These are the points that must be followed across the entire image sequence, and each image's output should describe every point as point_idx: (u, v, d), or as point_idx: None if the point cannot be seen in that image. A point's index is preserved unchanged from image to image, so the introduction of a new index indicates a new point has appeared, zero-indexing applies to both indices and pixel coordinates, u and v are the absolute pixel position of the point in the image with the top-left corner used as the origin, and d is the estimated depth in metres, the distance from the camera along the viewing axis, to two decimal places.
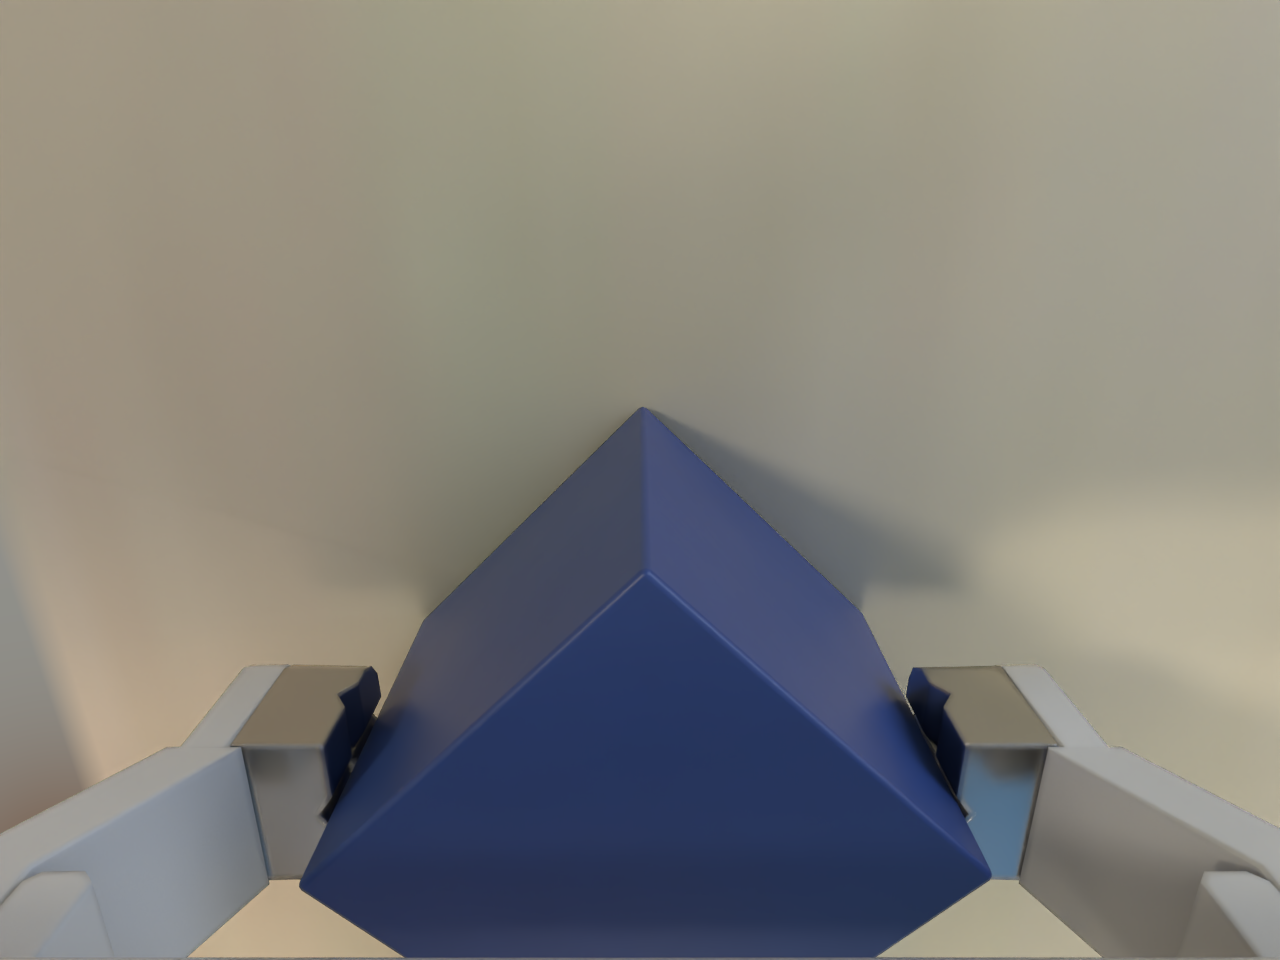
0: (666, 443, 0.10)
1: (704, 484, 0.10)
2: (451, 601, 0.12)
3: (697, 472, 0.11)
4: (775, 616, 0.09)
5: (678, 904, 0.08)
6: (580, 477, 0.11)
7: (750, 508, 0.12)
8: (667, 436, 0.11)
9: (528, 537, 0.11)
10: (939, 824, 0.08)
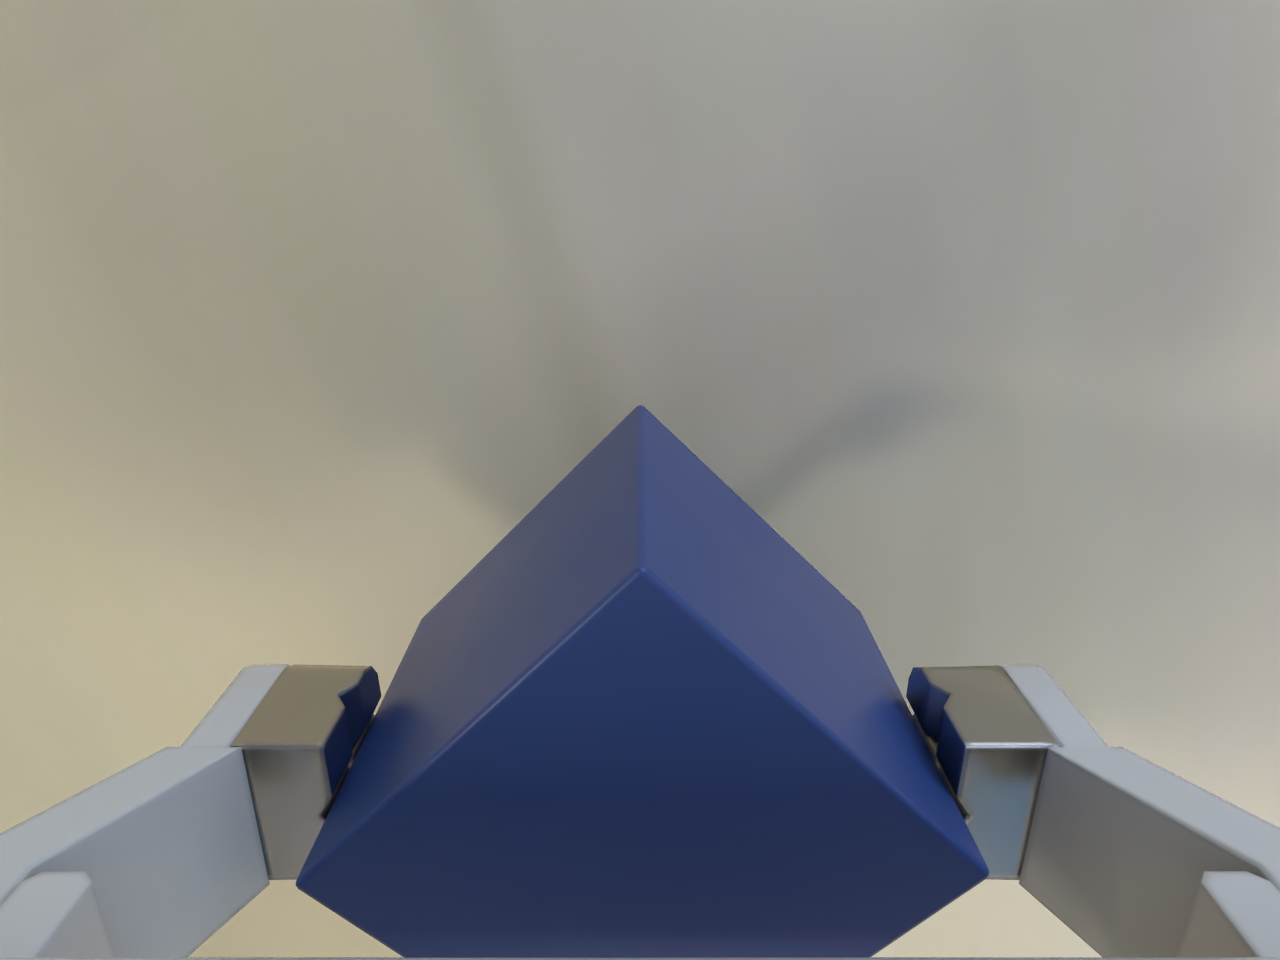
0: (664, 441, 0.10)
1: (702, 482, 0.10)
2: (449, 600, 0.12)
3: (695, 470, 0.11)
4: (772, 614, 0.09)
5: (675, 902, 0.08)
6: (578, 475, 0.11)
7: (748, 506, 0.12)
8: (665, 434, 0.11)
9: (526, 535, 0.11)
10: (936, 822, 0.08)
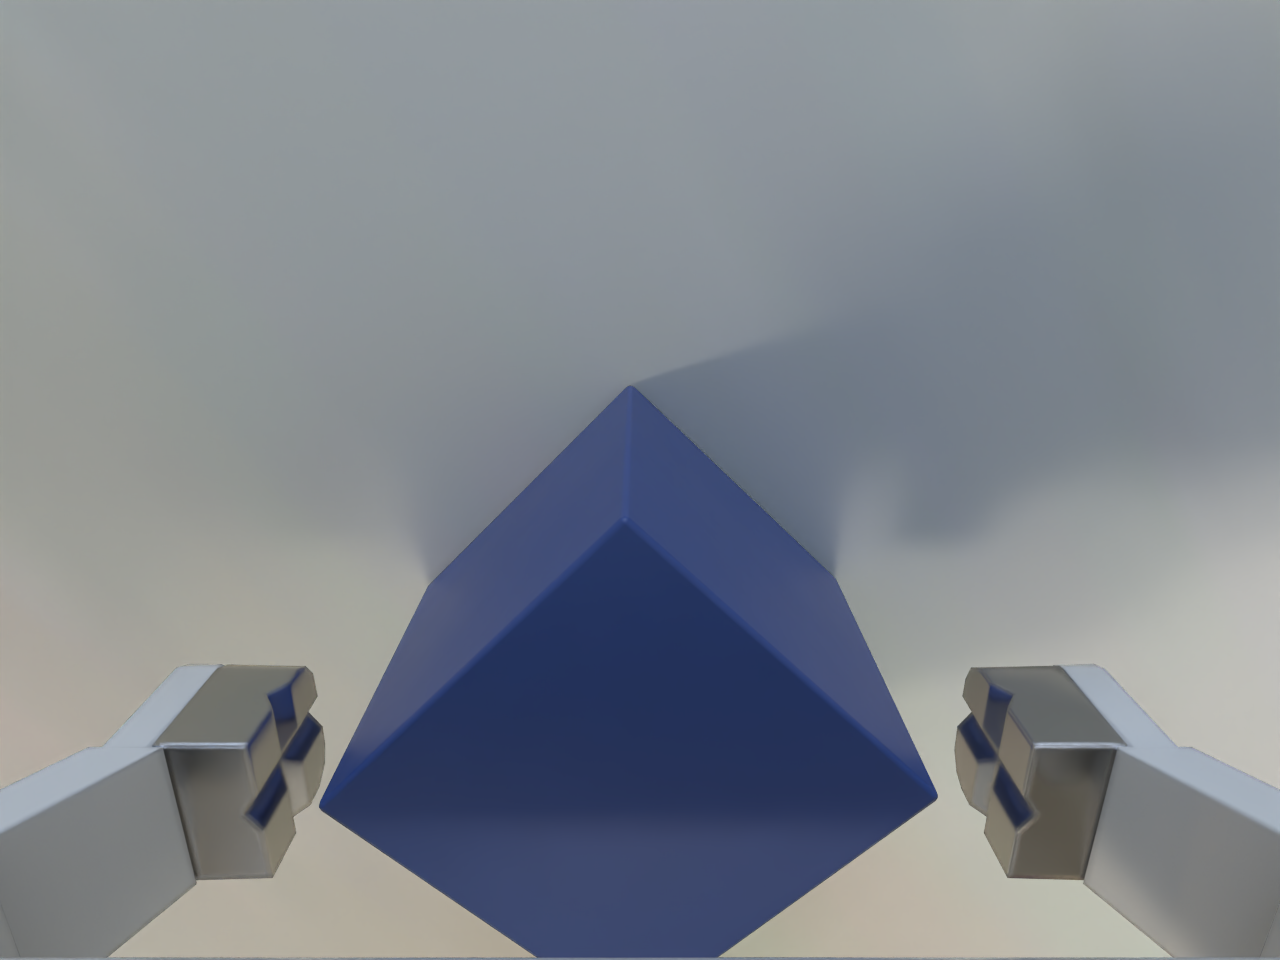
0: (651, 417, 0.11)
1: (686, 455, 0.11)
2: (454, 566, 0.13)
3: (680, 444, 0.12)
4: (746, 568, 0.09)
5: (657, 822, 0.09)
6: (572, 450, 0.12)
7: (730, 480, 0.13)
8: (652, 412, 0.12)
9: (524, 505, 0.12)
10: (889, 749, 0.09)
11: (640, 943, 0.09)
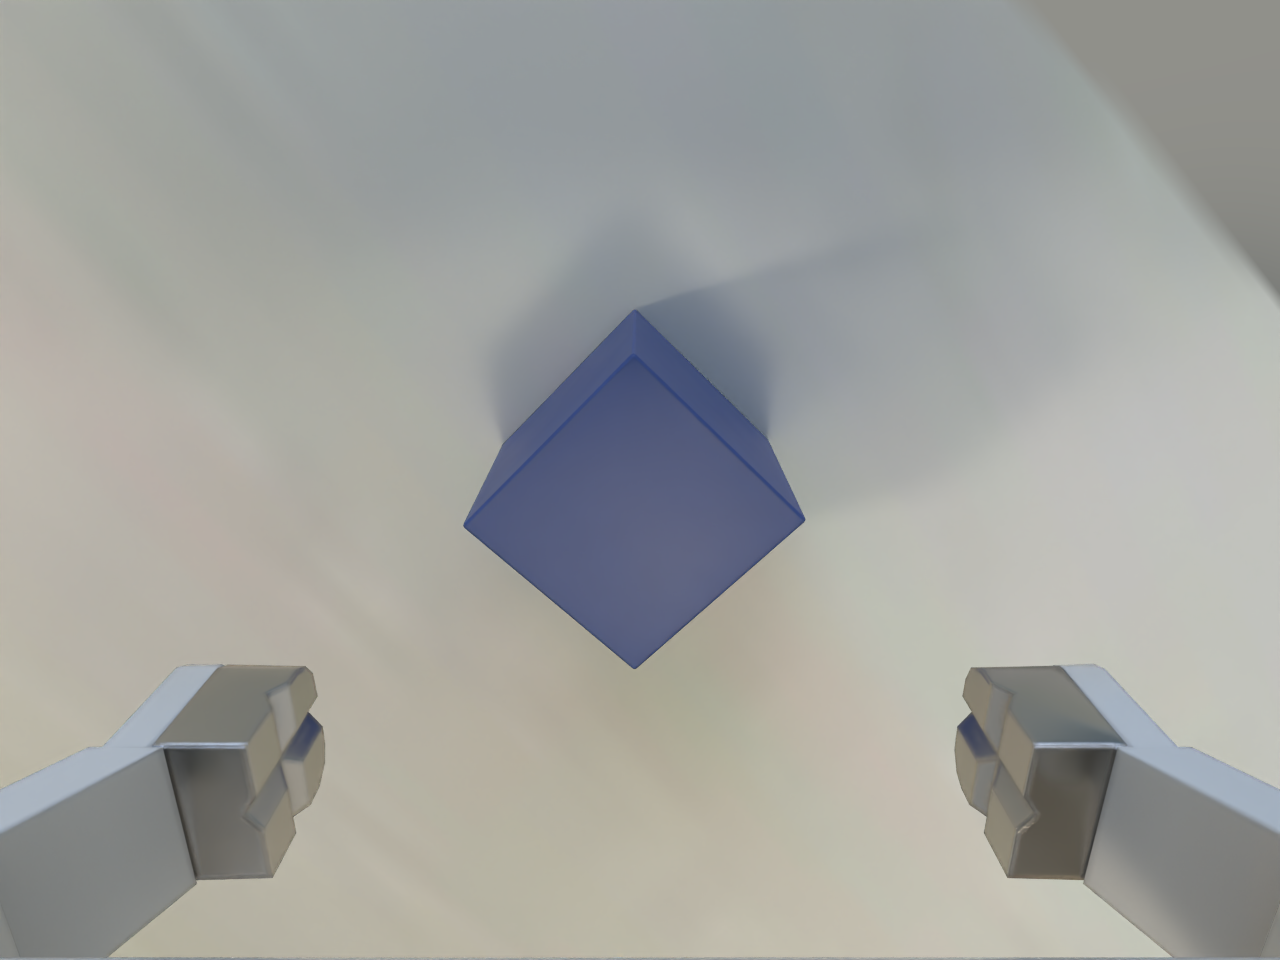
0: (647, 326, 0.19)
1: (669, 350, 0.19)
2: (521, 427, 0.20)
3: (665, 344, 0.19)
4: (701, 401, 0.17)
5: (650, 535, 0.16)
6: (598, 349, 0.19)
7: (698, 371, 0.20)
8: (648, 325, 0.19)
9: (569, 382, 0.19)
10: (777, 490, 0.16)
11: (641, 615, 0.17)
